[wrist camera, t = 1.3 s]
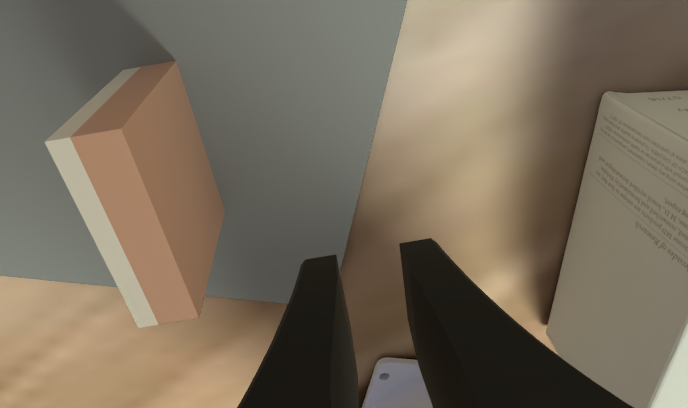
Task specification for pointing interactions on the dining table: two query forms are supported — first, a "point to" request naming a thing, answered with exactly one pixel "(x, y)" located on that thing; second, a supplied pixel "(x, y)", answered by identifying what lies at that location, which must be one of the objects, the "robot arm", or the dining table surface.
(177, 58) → the felt mat
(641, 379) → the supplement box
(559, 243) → the dining table surface
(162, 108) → the terracotta tile
